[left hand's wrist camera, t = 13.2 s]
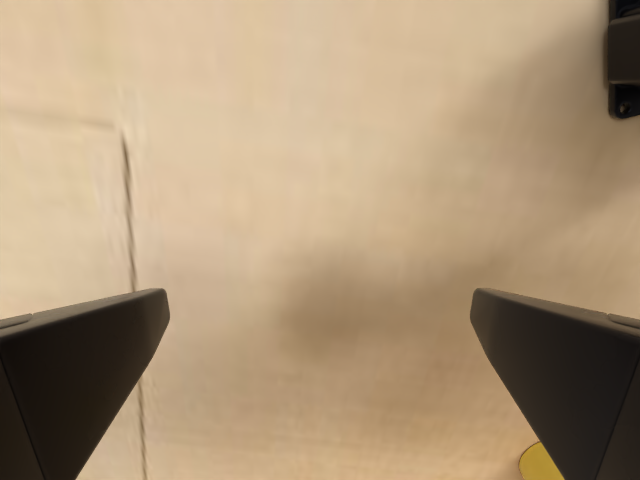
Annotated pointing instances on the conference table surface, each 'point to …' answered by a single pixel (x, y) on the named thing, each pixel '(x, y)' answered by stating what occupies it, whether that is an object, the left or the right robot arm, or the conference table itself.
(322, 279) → the conference table surface
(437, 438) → the conference table surface
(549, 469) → the canister
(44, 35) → the conference table surface
